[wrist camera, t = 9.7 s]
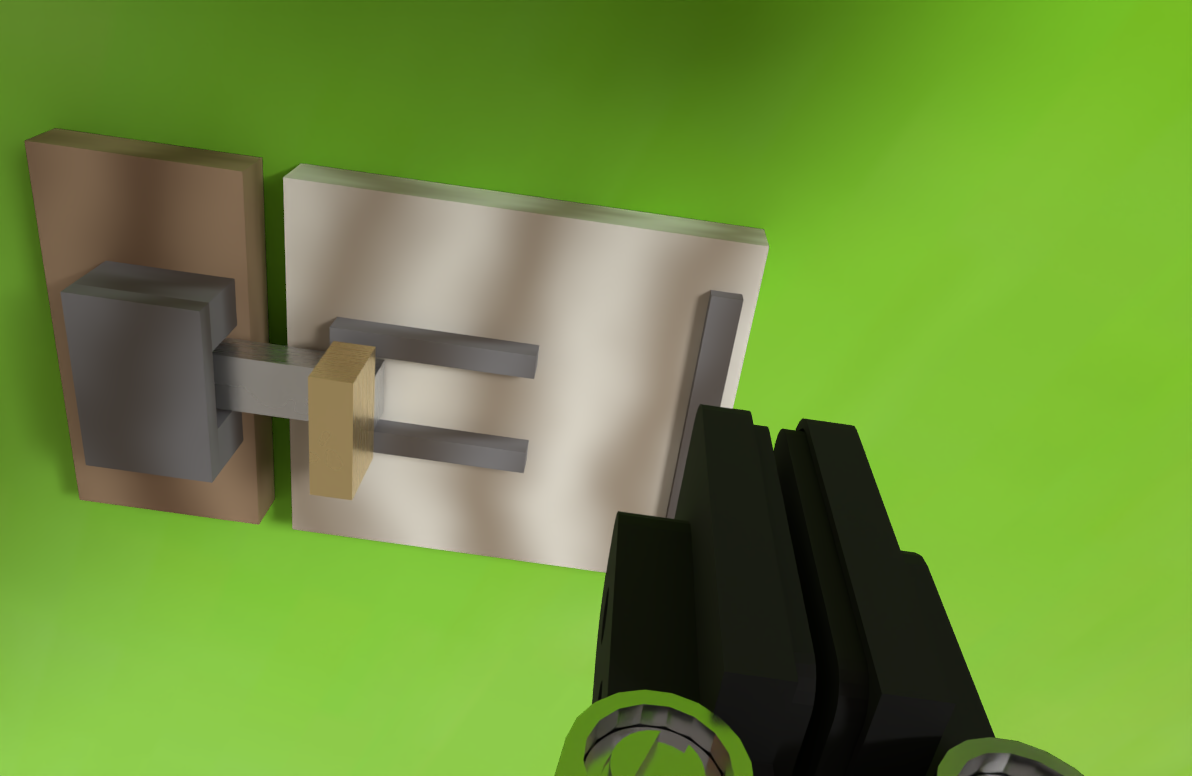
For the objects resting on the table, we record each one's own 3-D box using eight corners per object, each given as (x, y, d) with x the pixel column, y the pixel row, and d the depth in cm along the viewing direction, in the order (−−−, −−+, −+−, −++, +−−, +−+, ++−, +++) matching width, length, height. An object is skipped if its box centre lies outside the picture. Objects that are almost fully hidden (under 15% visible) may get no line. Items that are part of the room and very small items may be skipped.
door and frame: (763, 229, 37) (778, 278, 32) (691, 556, 44) (695, 634, 40) (55, 128, 37) (-32, 163, 32) (102, 474, 44) (38, 543, 39)
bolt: (385, 330, 37) (353, 383, 33) (382, 438, 40) (351, 500, 36) (131, 294, 37) (68, 343, 33) (143, 405, 40) (86, 463, 36)
